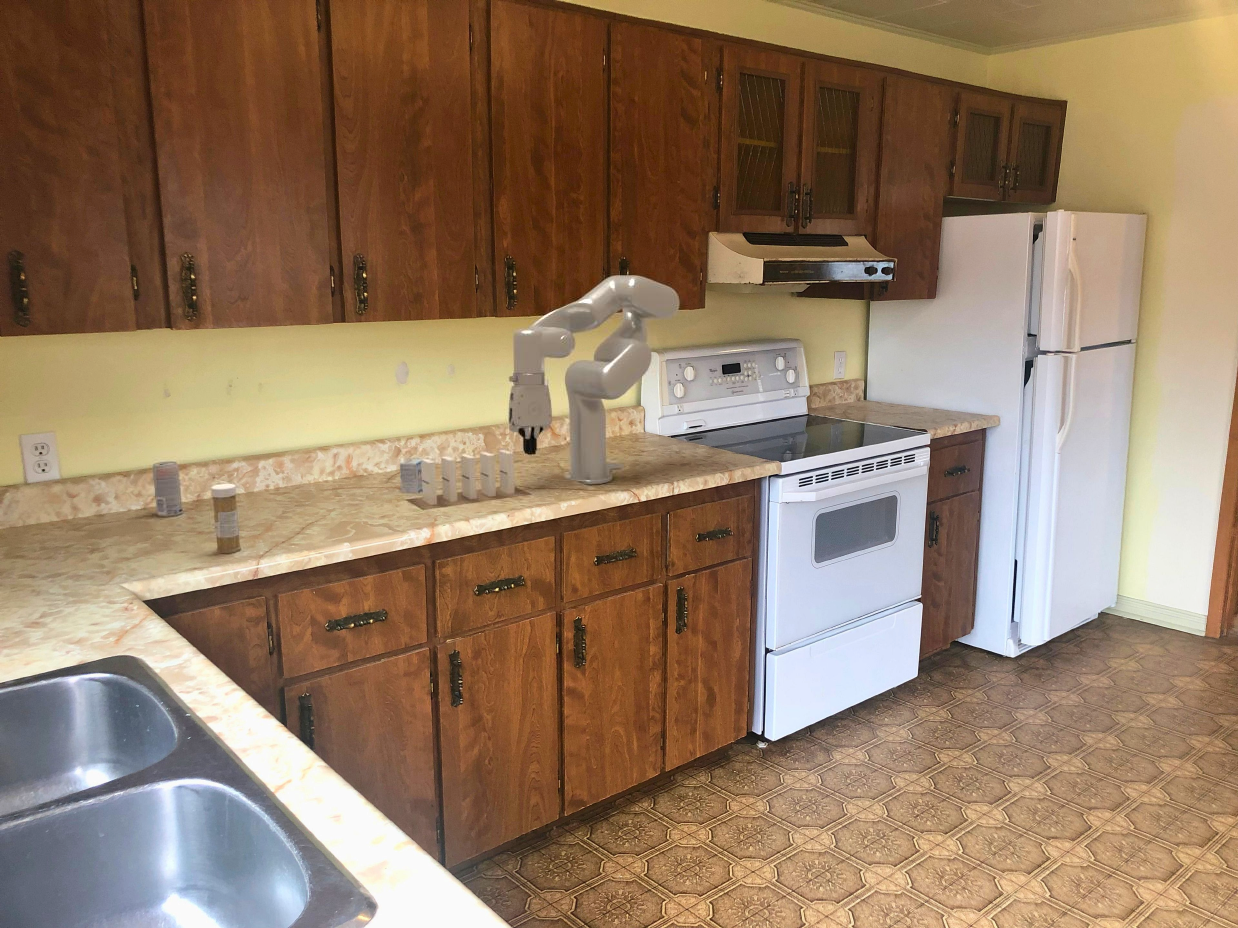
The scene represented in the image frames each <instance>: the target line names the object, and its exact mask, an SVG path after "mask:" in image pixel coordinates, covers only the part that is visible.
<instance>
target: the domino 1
mask: <svg viewBox="0 0 1238 928" xmlns="http://www.w3.org/2000/svg"><path fill="white" fill-rule="evenodd" d="M421 469H422V489H423V491H422V497H423V501H425V502H426V503H428V504H430V505H434V504H437V495H438V493H437V477H436V475H437V474H436V462H435V461H433V460H431V459H429V458H428V459H421Z"/></svg>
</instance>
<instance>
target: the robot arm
mask: <svg viewBox="0 0 1238 928" xmlns="http://www.w3.org/2000/svg"><path fill="white" fill-rule="evenodd" d="M679 308H680V298H679V295H678V293H677V292H676V291H675V289H674V288H672V287H671V286H668V285H666V284H663V283H659V282H658V281H655V280H653V279H650V278H647V277H645V276H642V275H641V276H640V275H634V274H633V275H619V274H618V275H611V276H609V277H607V278H605V279H604V280H602V281H601V282H600V283H599V284H597V285H596V286H595V287H594V288H592V289H591V290H590V291H588V292H587V293H586V294H584V295H583V296H582V297H581V298H579V299H578V300H576V301H574V302H571V303H569V304H566V305H565V306H562V307H560V308H558V309H555V310H553V311H551V312H548V313H547V314H545V315H543V316H542V317H541V318H539V319H538V320H536V321H535V322H534V323H532V324H531V325H530V326H529V327H528V328H521V329H516V330H515V331H514V332H513V342H512V343H513V345H512V346H513V373H512V375H510V376H509V377H508V381H509V382H510V383H512V384H513V385H511V388H510V393H509V401H508V423H509V427H508V429H509V432H512V433H518V435H520V437H521V438H522V449H523V451H524V454H526V455H528V456H532V455H536V453H537V450H538V438H539V437H540V435H541V433H542V432H543V431H546V430H548V429H550V428H551V424H552V421H553V410H552V409H553V408H552V399H551V393H550V389H549V386H548V384H546V383H545V381H546V379H545V376H546V375H545V358H548V359H549V358H551V359H564V358H567V357H569V356H571V354H572V353H573V352H574V350H575V349H576V348H575V347H576V339H575V336H574V334H579V333H584V332H588V331H591V330H594V329H597V328H599V327H601V325H603V324H604V323H605V322H607V320H609V319H610V318H611V317H613V316H614V315H615V314H617V313H618V311H620V310H622V321H621V323H620V325H619V326H618V327H617V328H615V330H614V331H613V332H612V333H611V334H609V336H608V337H606V339H604V340H603V341H602V342H601V343H600V344H599V345H598V346H597V348H595V351H594V353H593V360H589V359H581V360H577V361H574V362H573V363H571V364H570V365H569V366H568V368H567V369H566V371H565V376H564V385H565V389H566V390H565V391H566V394H567V398H568V399H567V400H568V410H569V411H568V413H569V461H570V462H569V464H570V465H569V467H570V472H569V473H566V474H565V475H564V478H566V479H567V480H572V481H574V482H577V483H580V484H583V485H600V484H605V483H609V482H611V481H612V480H613V474H612V472H613V471H621V470H622V469H623V464H622V462H615V463H613V462H610V461H608V460H607V426H606V425H607V424H606V423H607V414H606V408H605V406H604V402H603V400H607V401H609V400H610V401H613V400H618V399H619V398H621V397H622V396H624V395H625V394H626V393H627V392H628V391H630V389H631V388H632V387H633V386H634V385H636V383H638V382H639V380H640V379H641V378H642V377H644V375H646V373H647V372H648V371H649V368H650V366H651V364H652V363H651V362H652V350H651V348H650V346H649V344H648V343H647V342H648V336H649V335H648V331H647V330H648V329H647V320H648V319H649V320H651V319H652V320H668V319H671V318H673V317H674V316H675V315H676V314H677V313H678V311H679Z"/></svg>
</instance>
